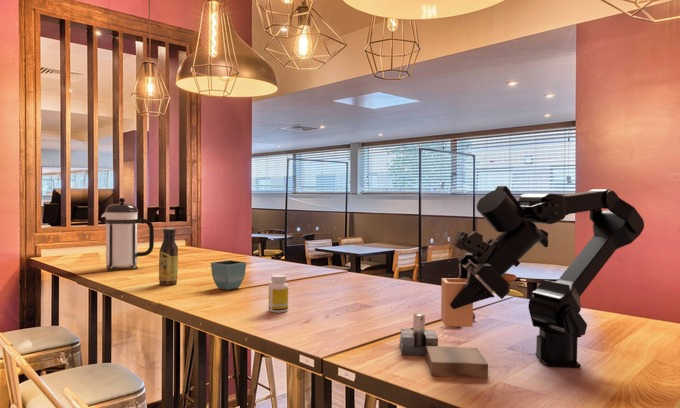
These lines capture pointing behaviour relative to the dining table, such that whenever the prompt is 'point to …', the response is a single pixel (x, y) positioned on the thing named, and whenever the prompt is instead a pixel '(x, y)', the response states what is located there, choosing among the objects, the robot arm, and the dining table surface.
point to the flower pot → (228, 273)
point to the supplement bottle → (278, 294)
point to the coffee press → (124, 235)
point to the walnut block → (456, 362)
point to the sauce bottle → (168, 258)
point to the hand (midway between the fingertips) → (449, 303)
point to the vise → (417, 337)
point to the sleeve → (458, 315)
